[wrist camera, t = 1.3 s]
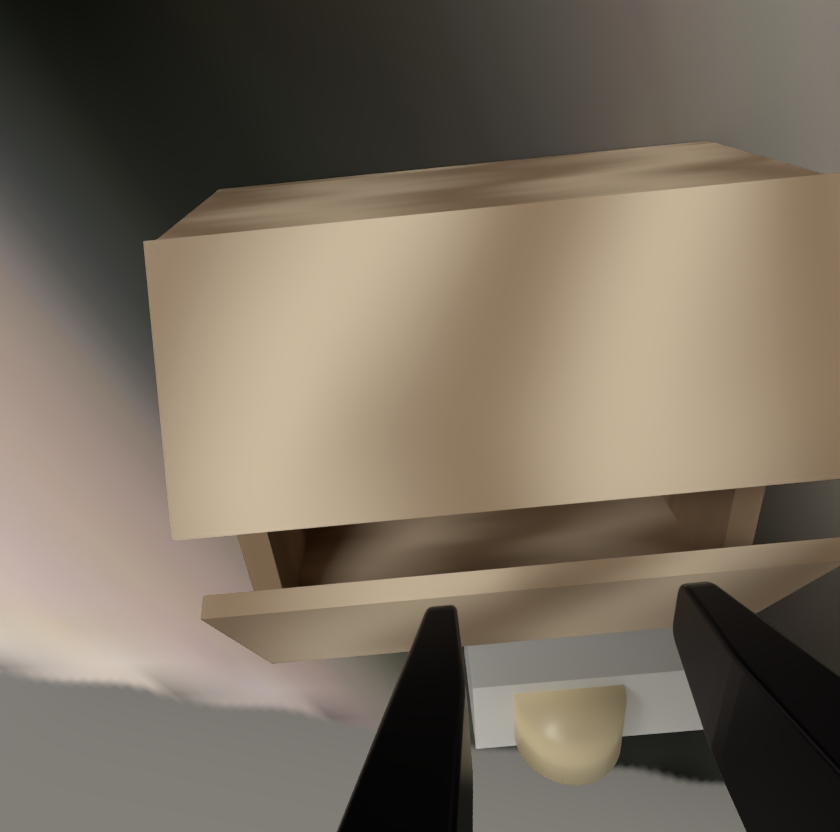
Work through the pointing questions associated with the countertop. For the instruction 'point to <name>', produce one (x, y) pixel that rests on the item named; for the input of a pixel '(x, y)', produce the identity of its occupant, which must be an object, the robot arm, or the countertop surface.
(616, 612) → the flap
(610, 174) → the cardboard box
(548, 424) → the flap
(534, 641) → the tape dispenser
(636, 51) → the countertop surface
